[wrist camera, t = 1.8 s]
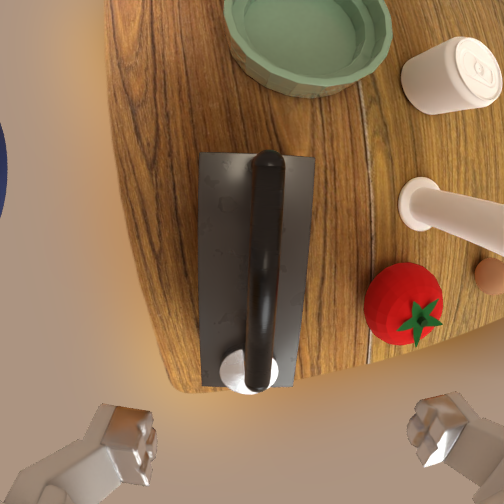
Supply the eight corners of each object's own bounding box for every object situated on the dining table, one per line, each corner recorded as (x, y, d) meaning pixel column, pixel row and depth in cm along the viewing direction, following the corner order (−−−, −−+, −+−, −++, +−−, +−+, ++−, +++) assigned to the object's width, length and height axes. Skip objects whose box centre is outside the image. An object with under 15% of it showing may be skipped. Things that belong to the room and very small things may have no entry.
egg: (465, 288, 41) (492, 306, 35) (468, 255, 40) (498, 270, 33) (488, 282, 41) (515, 298, 35) (491, 250, 40) (520, 263, 33)
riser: (207, 344, 41) (201, 386, 33) (208, 155, 35) (199, 152, 26) (282, 345, 42) (292, 386, 33) (296, 158, 35) (315, 157, 27)
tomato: (419, 313, 42) (455, 346, 32) (356, 332, 42) (382, 374, 32) (419, 245, 39) (462, 268, 29) (349, 262, 39) (381, 293, 30)
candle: (430, 168, 36) (589, 194, 12) (446, 215, 38) (591, 273, 14) (389, 190, 37) (551, 236, 13) (407, 239, 39) (551, 321, 15)
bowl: (221, 94, 33) (218, 78, 26) (230, -26, 28) (229, -55, 22) (369, 108, 34) (395, 99, 27) (364, -8, 29) (384, -31, 23)
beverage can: (402, 49, 32) (453, 20, 20) (449, 73, 33) (505, 57, 21) (394, 101, 34) (449, 84, 22) (443, 124, 35) (502, 118, 23)
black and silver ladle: (275, 387, 33) (287, 463, 23) (220, 387, 33) (216, 463, 22) (292, 156, 27) (327, 153, 16) (222, 153, 26) (213, 146, 16)
